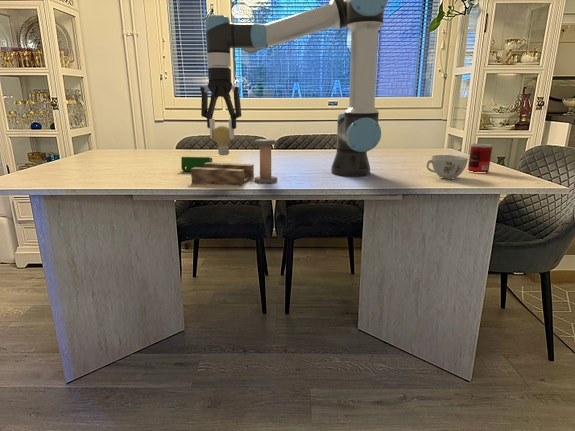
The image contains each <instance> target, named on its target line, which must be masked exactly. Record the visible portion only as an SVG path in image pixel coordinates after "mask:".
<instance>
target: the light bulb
mask: <svg viewBox="0 0 575 431" xmlns="http://www.w3.org/2000/svg"><path fill="white" fill-rule="evenodd" d="M213 137H214V138H213V140H214V141H215V143H216V144H217V145H218V146H217V151H218V153H217V154H218V155H219V156H229V154H230V148H229V144H230V142H231V140H232V139H229V126H228V127H227V126H225V125H219V126H217V127H215V130H214V132H213Z"/></svg>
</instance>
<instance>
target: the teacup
mask: <svg viewBox="0 0 575 431" xmlns="http://www.w3.org/2000/svg"><path fill="white" fill-rule="evenodd" d="M468 162H469V157H467V156H460V155H452V154H451V155H450V154H439V155H432V156H431V159H429V160H428V161H427V162H426V169H427V170H428V171H429V172H431V173H435V174H437V176H438V178H440V177H442V178H441V179H443V178H456V179H457V178H458V177H459V176H460V175H461V174H462V173H463V171H464V170H465V168H467V163H468ZM430 164H431V165H432V168H433V169H432V168H430V167H429V166H430Z"/></svg>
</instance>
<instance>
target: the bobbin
mask: <svg viewBox="0 0 575 431" xmlns="http://www.w3.org/2000/svg"><path fill="white" fill-rule="evenodd" d="M276 141H277V140H276V139H268V138H267V139H266V138H265V139H264V138H261V139H255V140H254V142H255V145H256V146H257V145H258V146H259V176H254V178H253V180H254V183H255V184H259V185H260V184H261V185H263V184H264V185H267V184H268V185H269V184H270V185H271V184H275V183H278V177H276V176H272V146H273V145H276Z"/></svg>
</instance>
